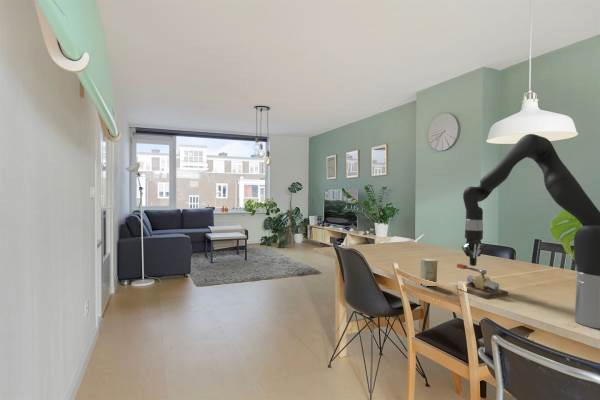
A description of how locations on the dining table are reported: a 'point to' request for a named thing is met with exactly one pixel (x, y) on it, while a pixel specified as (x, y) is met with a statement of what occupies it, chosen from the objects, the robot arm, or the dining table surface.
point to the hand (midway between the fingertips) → (472, 265)
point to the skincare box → (428, 270)
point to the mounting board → (485, 292)
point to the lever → (471, 268)
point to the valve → (483, 283)
